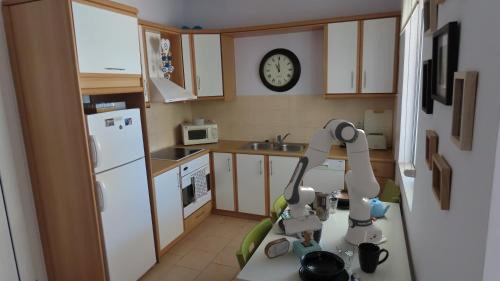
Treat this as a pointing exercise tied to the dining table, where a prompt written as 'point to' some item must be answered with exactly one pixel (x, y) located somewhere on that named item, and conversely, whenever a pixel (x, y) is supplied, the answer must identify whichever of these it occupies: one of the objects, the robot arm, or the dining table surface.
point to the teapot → (377, 208)
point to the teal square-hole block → (301, 250)
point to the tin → (276, 247)
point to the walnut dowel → (307, 239)
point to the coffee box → (321, 205)
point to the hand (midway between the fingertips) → (307, 240)
